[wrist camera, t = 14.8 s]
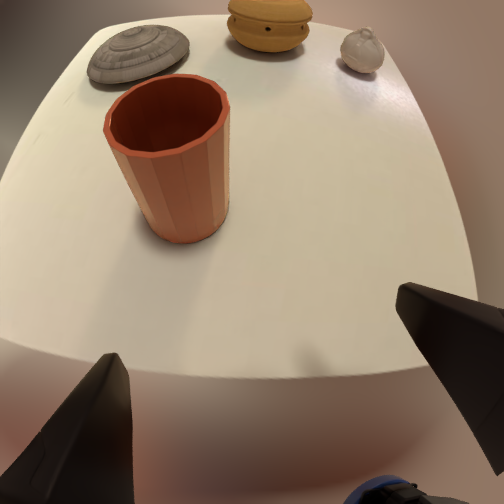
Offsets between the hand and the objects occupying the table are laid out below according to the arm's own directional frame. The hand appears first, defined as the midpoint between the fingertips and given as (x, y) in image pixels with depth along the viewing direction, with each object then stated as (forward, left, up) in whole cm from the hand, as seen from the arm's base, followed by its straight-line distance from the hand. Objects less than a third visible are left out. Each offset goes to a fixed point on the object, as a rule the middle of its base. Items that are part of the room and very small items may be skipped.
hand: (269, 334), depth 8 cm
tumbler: (+11, +7, -13) cm, 19 cm away
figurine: (+40, -9, -14) cm, 43 cm away
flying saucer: (+33, +22, -14) cm, 42 cm away
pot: (+41, +5, -14) cm, 43 cm away
